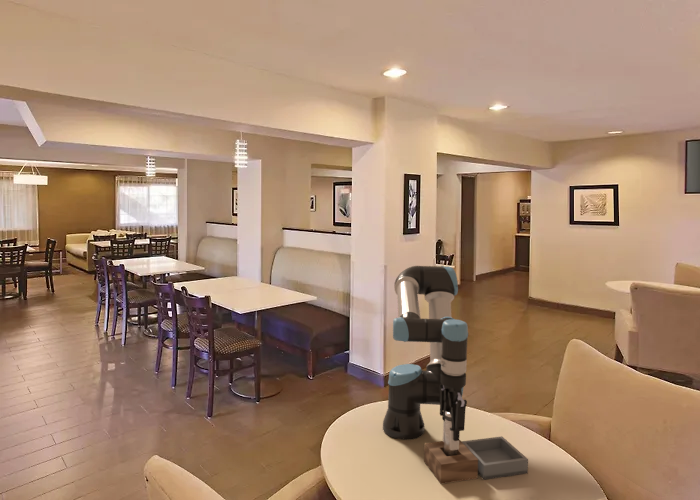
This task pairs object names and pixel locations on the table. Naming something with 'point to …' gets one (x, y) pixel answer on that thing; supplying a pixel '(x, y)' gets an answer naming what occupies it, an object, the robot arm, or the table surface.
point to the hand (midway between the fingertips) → (450, 444)
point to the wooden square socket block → (450, 463)
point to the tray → (497, 457)
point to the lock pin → (448, 435)
